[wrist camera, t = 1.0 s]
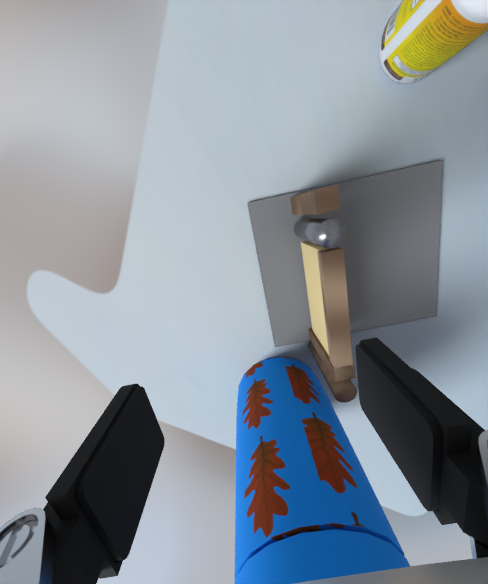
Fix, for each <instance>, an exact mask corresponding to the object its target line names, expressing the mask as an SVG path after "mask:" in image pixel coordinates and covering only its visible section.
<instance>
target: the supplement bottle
mask: <svg viewBox="0 0 488 584" xmlns="http://www.w3.org/2000/svg"><path fill="white" fill-rule="evenodd" d="M487 30H488V0H403V1H402V2H401V4H400V5H399V6H398V8H397V9H396V10H395V12H394V13H393V15H392V16H391V17H390V19H389V20H388V22H387V24H386V26H385V28H384V30H383V33H382V36H381V40H380V48H379V55H380V61H381V65H382V67H383V70H384V71H385V73H386V74H387V75H388V76H389V78H391V79H392V80H394V81H396V82H398V83H413V82H416V81H418V80H421V79H422V78H424V77H425V76H427V75H428V74H430V73H431V72H432V71H434V70H435V69H436V68H438V67H439V66H440V65H442V64H443V63H444V62H446V61H447V60H448V59H450V58H451V57H452V56H454V55H455V54H456V53H458V52H459V51H460V50H462V49H463V48H465V47H466V46H467V45H469V44H470V43H471V42H473V41H474V40H475V39H477V38H478V37H479V36H481V35H482V34H483V33H485V32H486V31H487Z"/></svg>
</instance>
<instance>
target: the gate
mask: <svg viewBox="0 0 488 584" xmlns="http://www.w3.org/2000/svg"><path fill="white" fill-rule="evenodd" d="M294 232H295V234H296V236H297V237H299V238H301V239H304V240H307V241H303V242H301V248H302V255H303V263H304V270H305V278H306V285H307V293H308V300H309V308H310V316H311V323H312V328H309V335H310V340H311V342H312V344H313V345H314V347H315V349H316V351H317V352H318V354H319V356H320V358H321V359H322V361H323V363H324V365H325V366H326V368H327V370H328V372H329V373H330V375H331V377H332V379H333V381H334V382H336V381H342V380H347V379H353V378H355V369H354V364H353V359H352V347H351V334H350V322H349V309H348V297H347V284H346V272H345V259H344V248H341V247H336V246H338V245H339V244H340V243H341V242H342V241H343V239H344V237H345V228H344V226H343V224H342V223H341V222H340V221H338V220H335V219H319V218H301V219H299V220H298V221H297V222H296V223H295V225H294Z"/></svg>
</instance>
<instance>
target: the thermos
mask: <svg viewBox="0 0 488 584" xmlns="http://www.w3.org/2000/svg"><path fill="white" fill-rule="evenodd" d="M235 521H236V522H235V523H236V524H235V584H293V583H299V582H306V581H313V580H320V579H327V578H334V577H341V576H348V575H355V574H362V573H369V572H376V571H383V570H390V569H397V568H404V567H410V565H409V563H408V561H407V559H406V558H405V557H404V553H403V551H402V548H401V547H400V544H399V542H398V540H397V538H396V536H395V534H394V532H393V530H392V528H391V526H390V524H389V522H388V520H387V518H386V516H385V514H384V511H383V509H382V507H381V505H380V503H379V501H378V499H377V497H376V495H375V493H374V491H373V489H372V487H371V485H370V483H369V481H368V479H367V476H366V474H365V472H364V470H363V468H362V466H361V464H360V462H359V460H358V458H357V456H356V454H355V452H354V450H353V448H352V446H351V444H350V442H349V439H348V437H347V435H346V433H345V431H344V429H343V427H342V425H341V423H340V421H339V419H338V417H337V415H336V413H335V411H334V409H333V407H332V405H331V402H330V400H329V398H328V396H327V395H326V393H325V391H324V389H323V388H322V386H321V384H320V382H319V381H318V379H317V377H316V376H315V374H314V373H313V372H312V371H311V369H310V368H309V367H308V366H307V365H305V364H303V363H301V362H300V361H298V360H296V359H291V358H285V357H278V358H270V359H266V360H264V361H262V362H259V363H257V364H255V365H254V366H252V367H251V368H250V369H249V370H248V371H247V372H246V373H245V374H244V376H243V378H242V380H241V382H240V384H239V391H238V403H237V434H236V518H235Z"/></svg>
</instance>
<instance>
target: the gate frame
mask: <svg viewBox="0 0 488 584" xmlns="http://www.w3.org/2000/svg"><path fill="white" fill-rule="evenodd" d="M442 170H443V160H440V161H436V162H431V163H427V164H422V165H418V166H413V167H408V168H404V169H399V170H395V171H390V172H386V173H381V174H377V175H372V176H367V177H363V178H358V179H354V180H349V181H345V182H340V183H336V184H331V185H326V186H322V187H317V188H313V189H308V190H304V191H299V192H294V193H290V194H285V195H281V196H276V197H272V198H267V199H263V200H258V201H253V202H249V203H248V208H249V213H250V218H251V224H252V229H253V234H254V240H255V245H256V250H257V255H258V261H259V266H260V271H261V276H262V282H263V287H264V292H265V297H266V303H267V308H268V313H269V318H270V324H271V329H272V334H273V339H274V345H275V347H278V346H283V345H288V344H293V343H298V342H304V341H309V340H310V335H309V328H312V323H311V316H310V308H309V300H308V293H307V285H306V278H305V270H304V263H303V255H302V248H301V242H303V241H307V240H304V239H301V238H299V237H297V236H296V234H295V232H294V225H295V223H296V222H297V221H298V220H299V219H301V218H319V219H335V220H338V221H340V222H341V223H342V224H343V226H344V228H345V237H344V239H343V241H342V242H341V243H340V244H339V245H338V246H336V247H341V248H344V259H345V272H346V284H347V297H348V309H349V322H350V333H351V332H356V331H361V330H366V329H371V328H377V327H382V326H387V325H392V324H398V323H403V322H408V321H413V320H418V319H424V318H429V317H434V316H437V293H438V268H439V244H440V219H441V195H442ZM308 347H309V349H310V351H311V353H312V355H313V357H314V359H315V360H316V362H317V364H318V366H319V368H320V370H321V372H322V374H323V376H324V378H325V380H326V381H327V383H328V385H329V387H330V389H331V391H332V393H333V395H334V397H335V399H336V400H337V401H339V402H349V401H351V400H353V399H354V398H355V396H356V394H357V389H356V387H355V386H354V384H353V383H352V382H351V380H350V379H347V380H342V381H336V382H334V381H333V379H332V377H331V375H330V373H329V372H328V370H327V368H326V366H325V365H324V363H323V361H322V359H321V358H320V356H319V354H318V352H317V351H316V349H315V347H314V345H313V344H312V342H311V340H310V341H309V344H308Z"/></svg>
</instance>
